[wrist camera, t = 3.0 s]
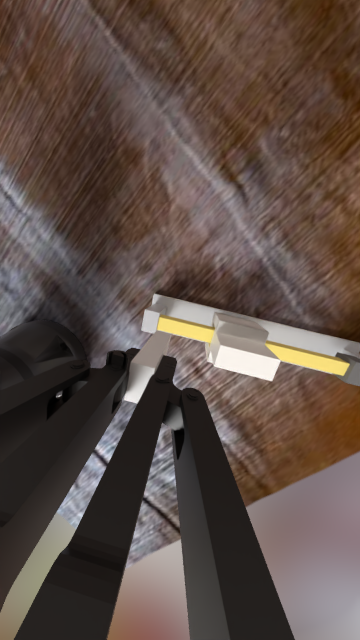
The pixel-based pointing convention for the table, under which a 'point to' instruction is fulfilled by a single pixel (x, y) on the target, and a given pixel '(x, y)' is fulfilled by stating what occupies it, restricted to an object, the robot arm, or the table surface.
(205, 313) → the linear slide rail
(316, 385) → the table surface
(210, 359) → the white stepped block
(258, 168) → the table surface
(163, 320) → the long yellow bar
